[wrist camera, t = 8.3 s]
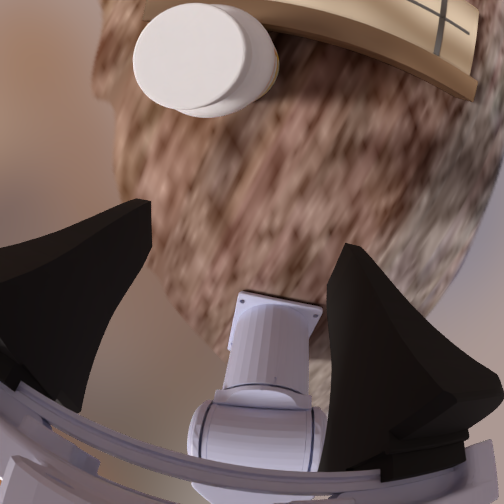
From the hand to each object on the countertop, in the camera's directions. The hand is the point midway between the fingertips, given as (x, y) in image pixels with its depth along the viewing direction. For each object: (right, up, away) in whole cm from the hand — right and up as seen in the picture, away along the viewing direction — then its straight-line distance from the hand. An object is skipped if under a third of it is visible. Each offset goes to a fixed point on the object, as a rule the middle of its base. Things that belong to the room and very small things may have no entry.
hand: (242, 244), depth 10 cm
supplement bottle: (-1, +12, +5) cm, 13 cm away
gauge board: (+5, +16, +1) cm, 17 cm away
